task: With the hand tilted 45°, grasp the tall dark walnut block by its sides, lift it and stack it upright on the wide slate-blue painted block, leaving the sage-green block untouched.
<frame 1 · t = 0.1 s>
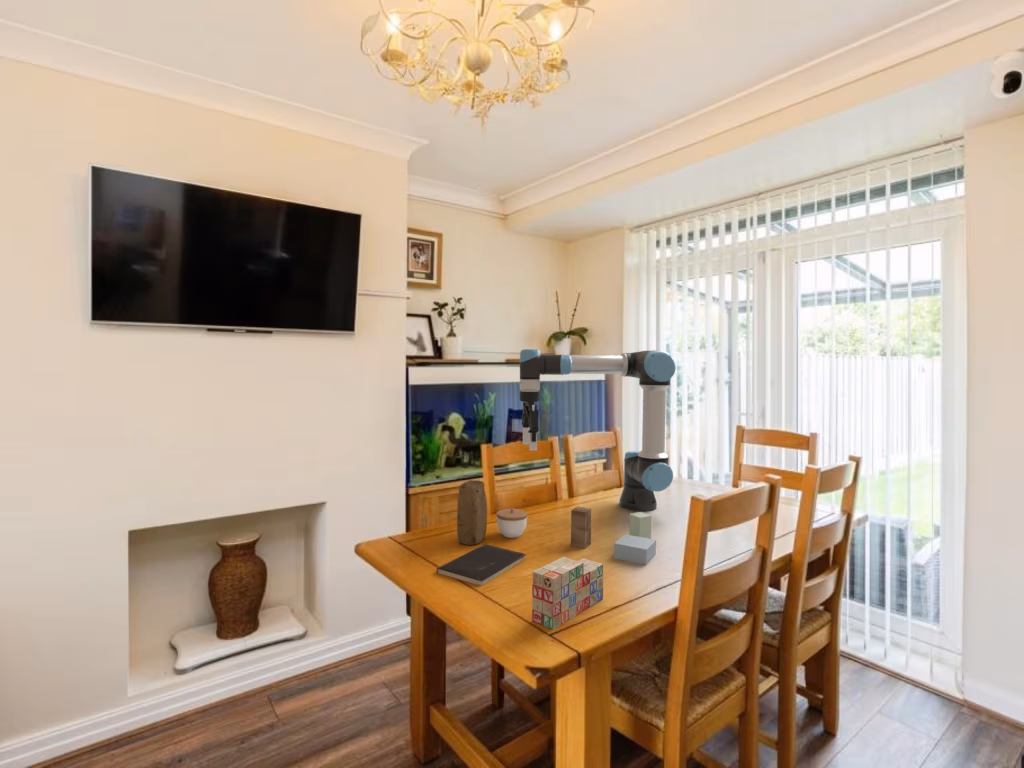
hand: (529, 447, 200), 28 cm above the table, tool pointing down, fingers open, 13 cm apart
lidded jar: (511, 535, 186), on the table
sage block: (639, 541, 181), on the table
slate base block: (635, 557, 167), on the table
hardcover book: (482, 568, 158), on the table
stack of blocks: (569, 610, 131), on the table
walnut block: (580, 545, 176), on the table
block: (472, 541, 179), on the table
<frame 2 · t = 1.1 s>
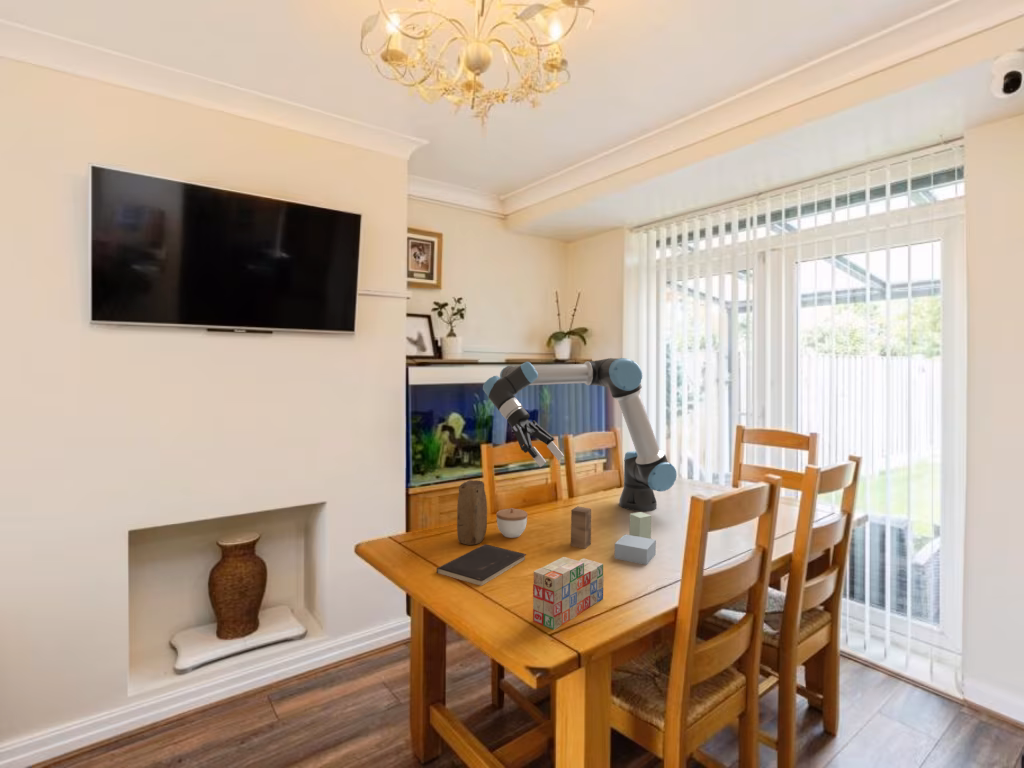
hand: (552, 461, 180), 27 cm above the table, tool tilted 45°, fingers open, 13 cm apart
nothing on the table moved.
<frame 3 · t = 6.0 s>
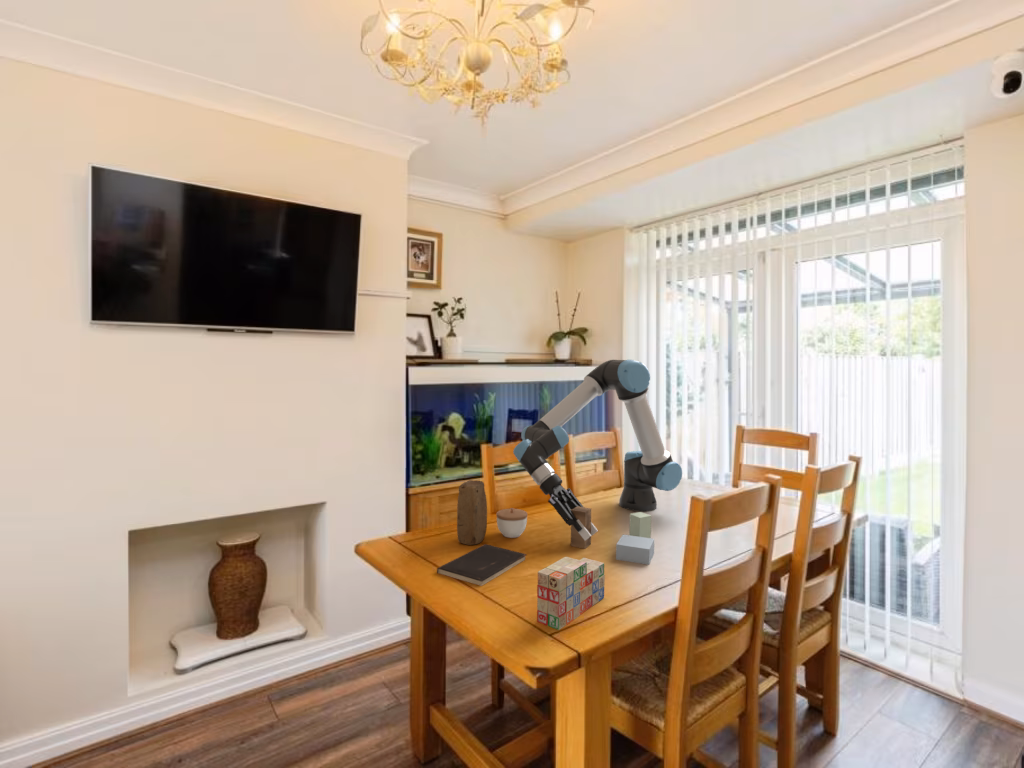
hand: (591, 535, 174), 4 cm above the table, tool tilted 45°, fingers closed on walnut block, 5 cm apart
walnut block: (580, 544, 176), on the table, touching gripper
when the fingers open (10 cm above the table, at t = 11.6 s): walnut block drops 1 cm, resting on slate base block.
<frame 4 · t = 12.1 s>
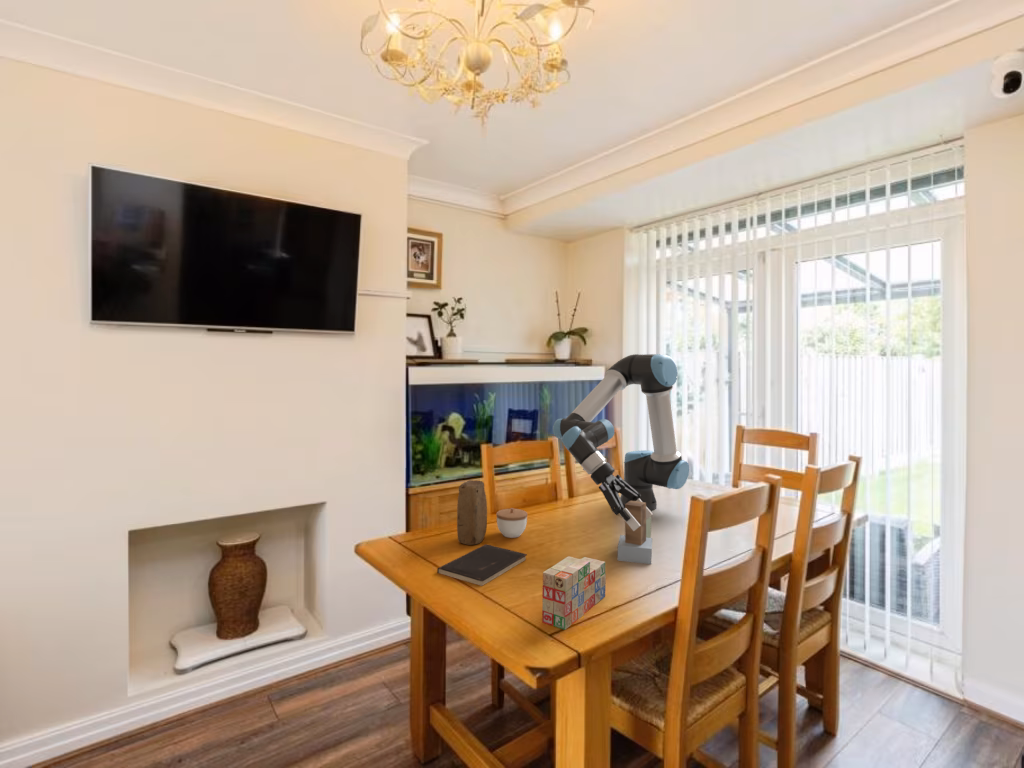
hand: (643, 522, 165), 11 cm above the table, tool tilted 45°, fingers open, 12 cm apart
slate base block: (635, 557, 167), on the table, touching walnut block
walnut block: (635, 541, 166), point 5 cm above the table, touching slate base block
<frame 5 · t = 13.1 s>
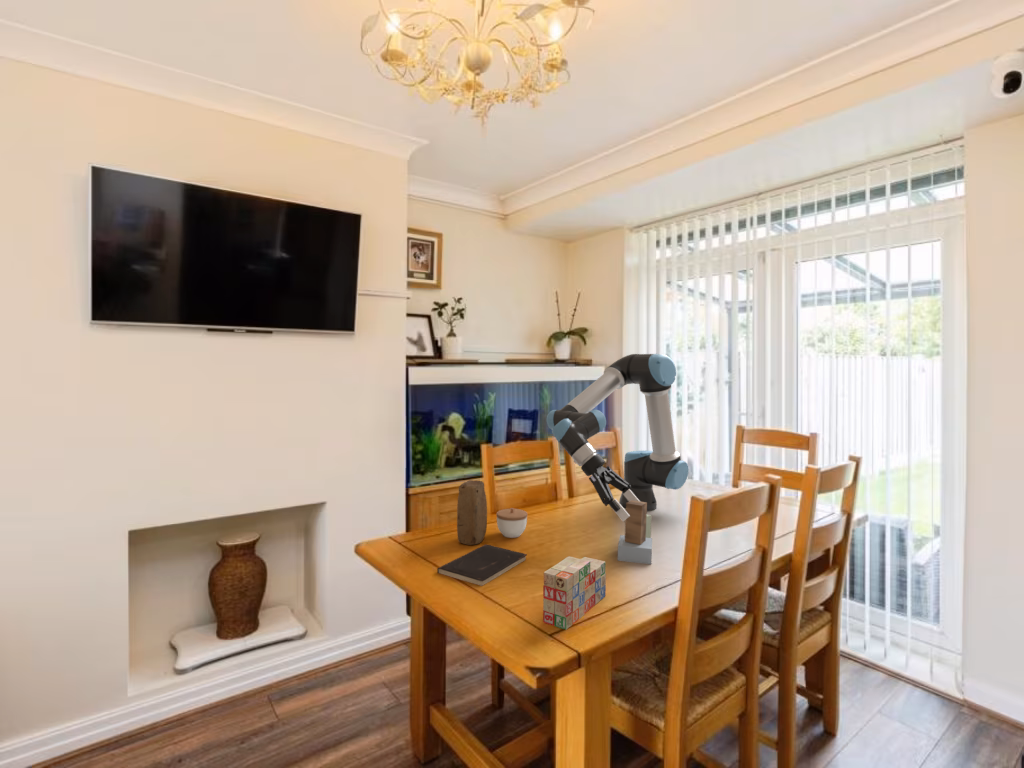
hand: (633, 513, 166), 14 cm above the table, tool tilted 45°, fingers open, 13 cm apart
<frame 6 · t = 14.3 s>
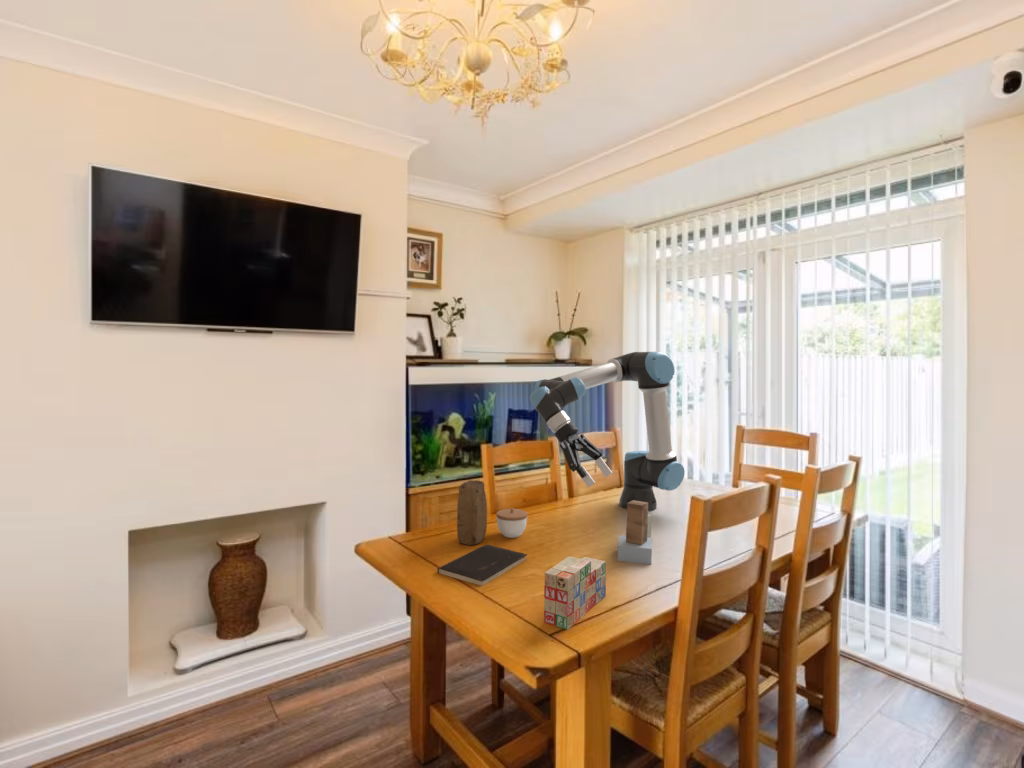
hand: (600, 480, 173), 22 cm above the table, tool tilted 40°, fingers open, 13 cm apart
slate base block: (635, 557, 167), on the table
walnut block: (636, 541, 166), point 5 cm above the table
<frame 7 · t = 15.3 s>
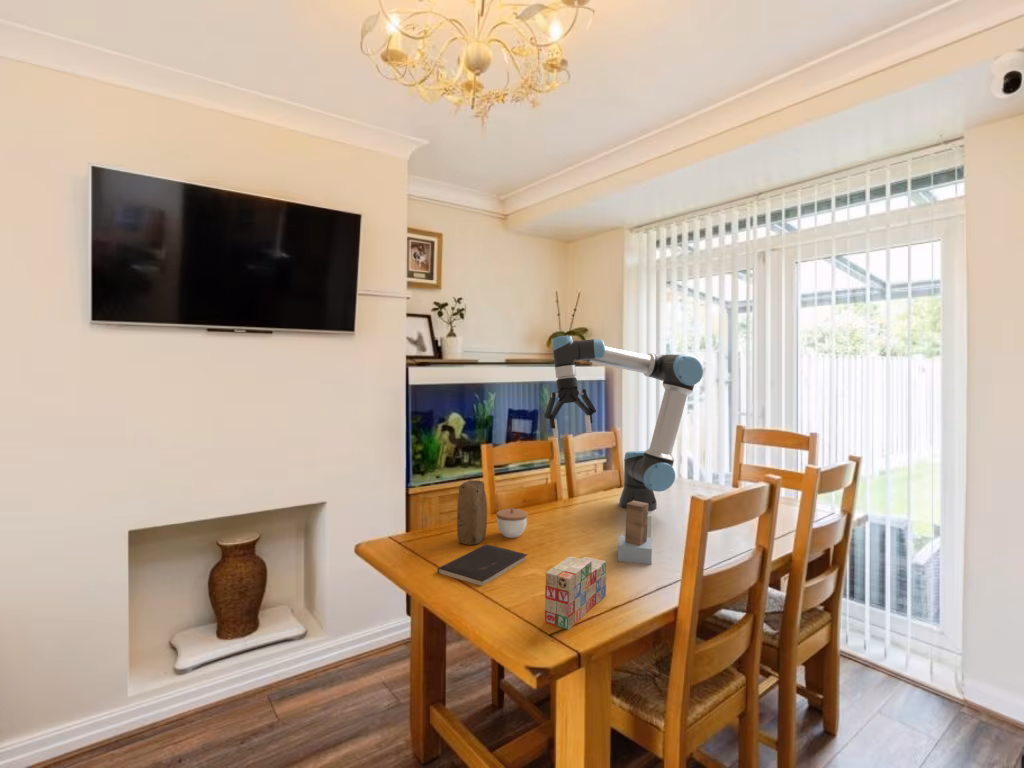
hand: (572, 435, 197), 33 cm above the table, tool pointing down, fingers open, 13 cm apart
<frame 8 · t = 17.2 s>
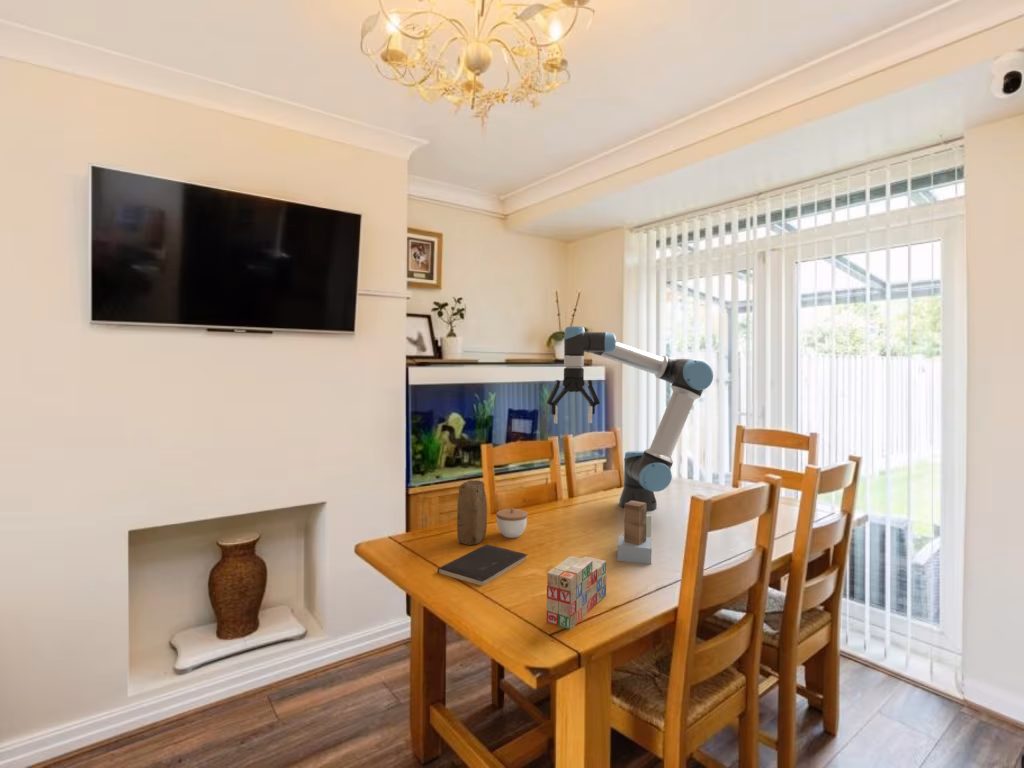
hand: (572, 423, 204), 37 cm above the table, tool pointing down, fingers open, 13 cm apart
slate base block: (634, 557, 167), on the table, touching walnut block
walnut block: (635, 541, 167), point 5 cm above the table, touching slate base block
at the end: walnut block inside the target area on the slate base block (0.2 cm from its centre), point 5.0 cm above the slate base block's base; walnut block tilted 1°; the gripper is holding nothing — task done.
